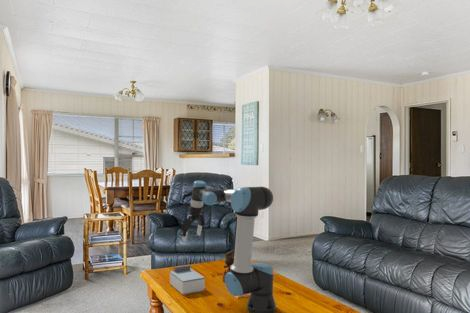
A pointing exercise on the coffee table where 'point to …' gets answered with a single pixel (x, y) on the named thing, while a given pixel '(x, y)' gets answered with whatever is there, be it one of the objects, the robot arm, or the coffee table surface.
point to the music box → (228, 262)
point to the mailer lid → (186, 273)
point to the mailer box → (187, 285)
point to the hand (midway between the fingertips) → (191, 238)
